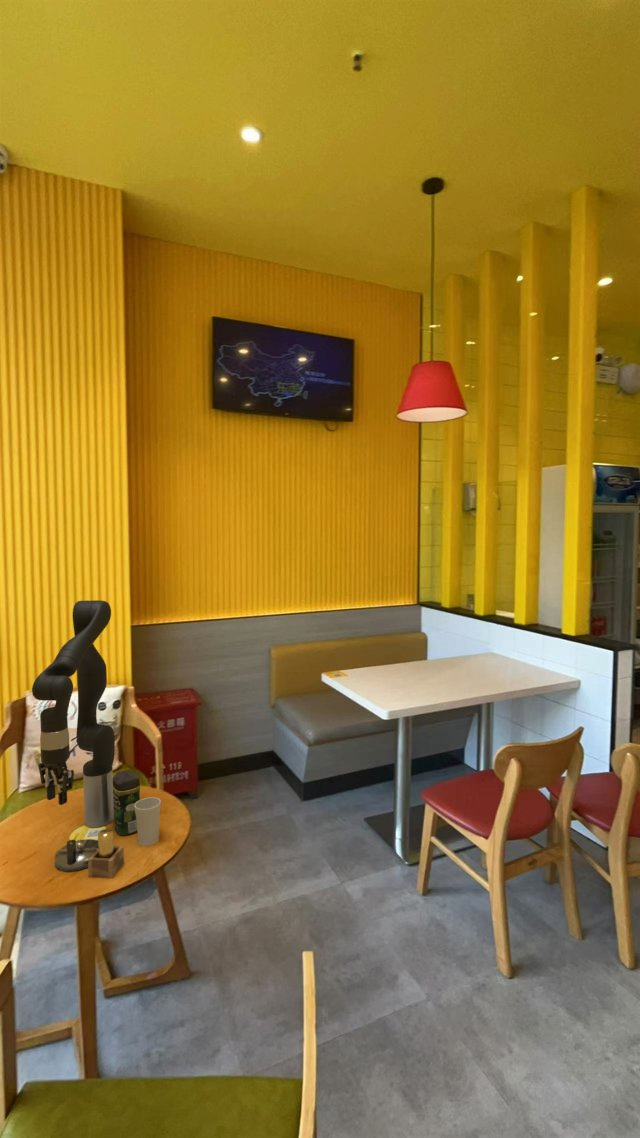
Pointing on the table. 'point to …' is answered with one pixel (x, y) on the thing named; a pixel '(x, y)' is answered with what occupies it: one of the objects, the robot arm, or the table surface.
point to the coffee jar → (125, 801)
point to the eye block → (106, 863)
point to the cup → (148, 820)
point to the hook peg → (105, 843)
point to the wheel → (75, 855)
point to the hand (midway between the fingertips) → (57, 801)
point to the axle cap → (80, 845)
